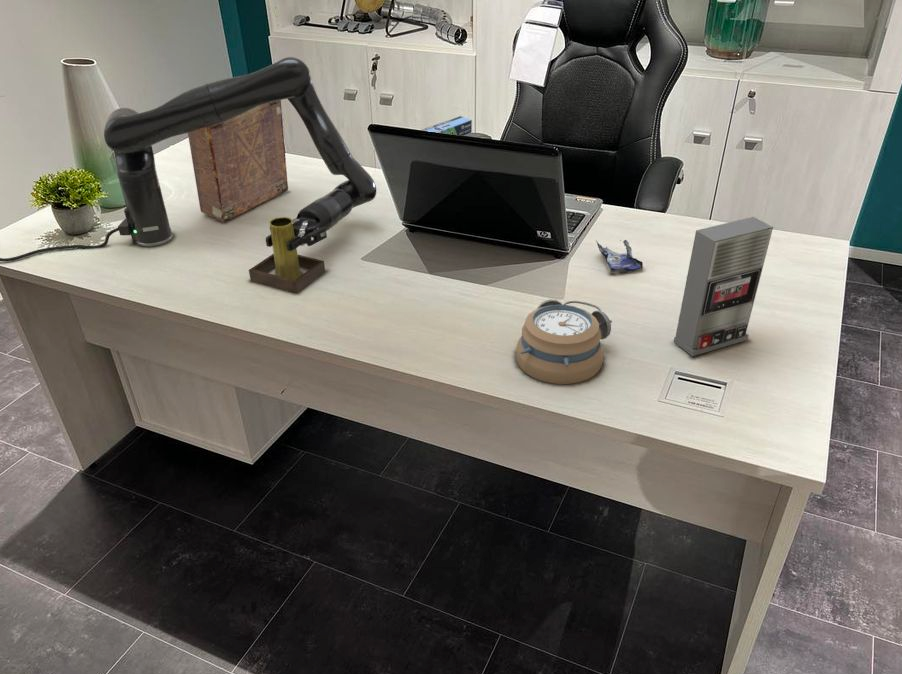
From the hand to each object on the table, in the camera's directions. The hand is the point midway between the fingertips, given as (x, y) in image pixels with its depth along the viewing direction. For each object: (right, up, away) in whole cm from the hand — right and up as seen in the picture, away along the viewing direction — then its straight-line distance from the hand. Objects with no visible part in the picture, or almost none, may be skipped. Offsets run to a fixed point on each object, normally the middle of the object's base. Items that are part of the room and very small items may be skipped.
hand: (277, 245), depth 176 cm
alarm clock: (+62, -25, -21) cm, 71 cm away
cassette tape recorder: (+92, -23, -20) cm, 97 cm away
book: (-18, +20, +43) cm, 51 cm away
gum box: (+38, +17, +38) cm, 56 cm away
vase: (+1, -6, +7) cm, 10 cm away
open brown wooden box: (+1, -6, +7) cm, 10 cm away
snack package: (+80, -3, +9) cm, 81 cm away
